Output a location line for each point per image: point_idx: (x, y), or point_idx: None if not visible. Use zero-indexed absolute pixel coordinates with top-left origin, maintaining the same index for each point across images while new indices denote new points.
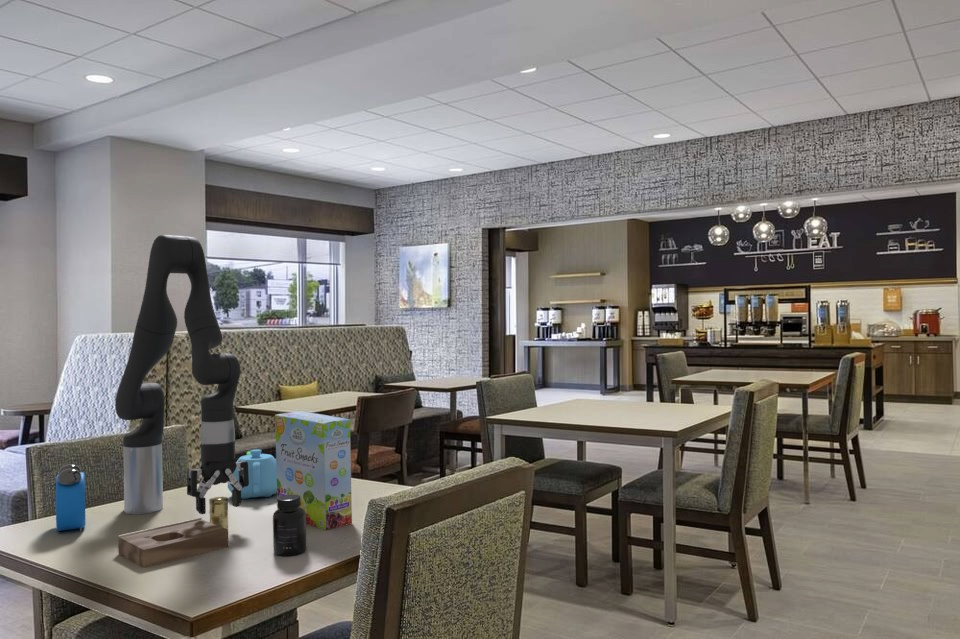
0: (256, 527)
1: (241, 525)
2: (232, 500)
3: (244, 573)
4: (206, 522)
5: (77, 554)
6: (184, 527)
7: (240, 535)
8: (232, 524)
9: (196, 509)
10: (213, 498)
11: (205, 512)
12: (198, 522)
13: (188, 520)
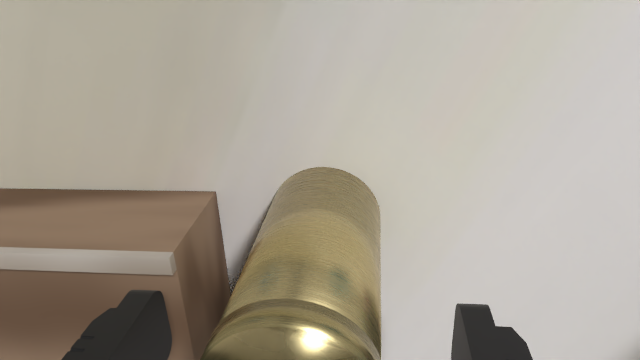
0: (550, 277)
1: (523, 169)
2: (464, 340)
3: None
4: (179, 355)
5: None
6: (36, 347)
7: (390, 332)
8: (499, 98)
9: (96, 322)
10: (252, 353)
11: (167, 356)
12: None
13: (76, 265)
